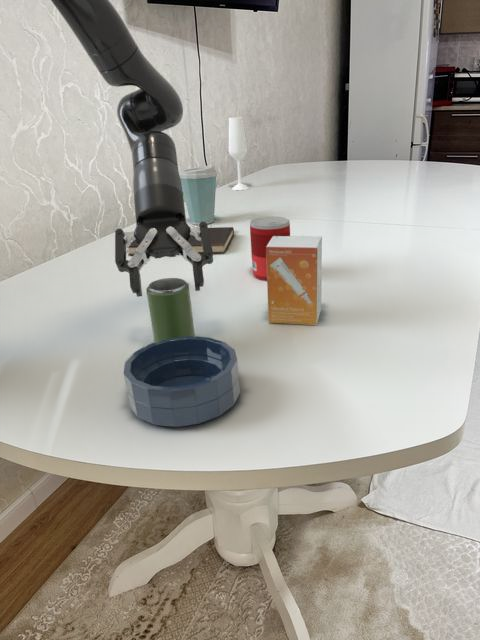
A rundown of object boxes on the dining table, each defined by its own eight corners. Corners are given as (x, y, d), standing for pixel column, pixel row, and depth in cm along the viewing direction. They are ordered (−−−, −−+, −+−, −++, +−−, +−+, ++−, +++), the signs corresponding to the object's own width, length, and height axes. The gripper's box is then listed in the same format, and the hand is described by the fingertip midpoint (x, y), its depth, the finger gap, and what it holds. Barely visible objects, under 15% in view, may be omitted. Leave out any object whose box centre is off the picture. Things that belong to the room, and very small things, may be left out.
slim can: (155, 361, 76) (144, 293, 71) (156, 343, 81) (146, 279, 76) (197, 356, 77) (189, 289, 72) (195, 339, 82) (187, 275, 77)
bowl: (128, 437, 60) (119, 397, 57) (134, 378, 72) (127, 342, 69) (246, 421, 61) (243, 381, 59) (232, 366, 73) (229, 331, 71)
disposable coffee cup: (181, 227, 144) (175, 171, 138) (185, 218, 154) (179, 165, 147) (220, 225, 145) (215, 169, 138) (221, 216, 154) (217, 163, 147)
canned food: (279, 283, 102) (277, 227, 97) (245, 277, 106) (241, 223, 101) (298, 271, 108) (297, 218, 103) (264, 266, 111) (262, 214, 106)
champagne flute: (240, 190, 188) (235, 118, 177) (227, 189, 193) (222, 118, 182) (253, 187, 193) (249, 116, 182) (240, 186, 197) (235, 116, 186)
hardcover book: (224, 253, 121) (224, 244, 120) (128, 255, 123) (126, 246, 122) (234, 235, 135) (233, 226, 134) (147, 237, 137) (146, 228, 136)
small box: (268, 324, 85) (264, 246, 79) (275, 308, 91) (272, 234, 85) (317, 326, 84) (318, 246, 78) (322, 310, 89) (322, 235, 83)
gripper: (107, 185, 77) (114, 285, 72) (203, 178, 79) (217, 275, 74) (116, 213, 84) (123, 306, 79) (205, 206, 86) (217, 297, 81)
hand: (168, 291), depth 77 cm, fingers open, 8 cm apart
